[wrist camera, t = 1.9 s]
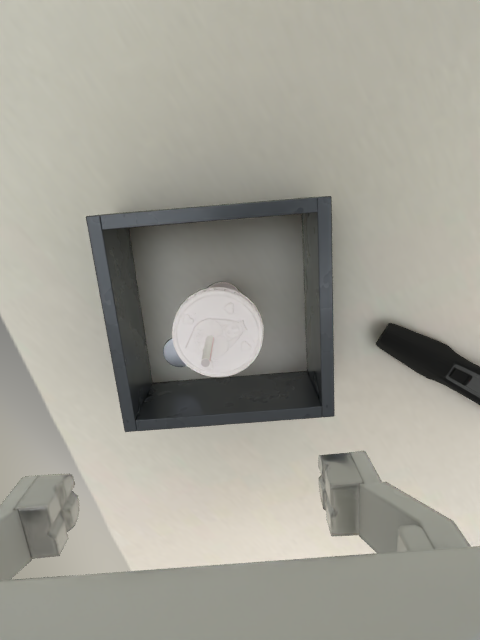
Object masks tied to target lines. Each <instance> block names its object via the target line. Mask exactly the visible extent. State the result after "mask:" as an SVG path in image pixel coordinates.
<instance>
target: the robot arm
mask: <svg viewBox="0 0 480 640" xmlns="http://www.w3.org/2000/svg"><path fill="white" fill-rule="evenodd" d="M318 467H319V470H320V473H321V476H320V477H319V490H320V497H321V502H322V506H323V509H324V510H326V520H327V523H328V527H329V530H330V533H331V536H349V535H359V536H360V537H361V538H362V539H363V540H364V541H365V542H366V543H367V544H368V545H369V546H370V547H371V548H372V549H373V550H374V551H375V552H377V554H363V555H349V556H335V557H321V558H307V559H293V560H279V561H265V562H252V563H238V564H224V565H210V566H196V567H182V568H168V569H154V570H140V571H127V572H113V573H99V574H85V575H72V576H57V577H43V578H30V579H15V580H11V579H12V578H13V577H14V576H15V575H16V574H17V573H18V572H19V571H21V570H22V569H23V568H24V567H25V566H26V565H27V564H28V563H29V562H30V561H31V560H32V559H34V558H44V557H54V556H60V554H61V552H62V550H63V548H64V546H65V544H66V542H67V540H68V535H67V532H68V531H70V530H71V529H72V528H73V527H74V526H75V524H76V522H77V519H78V514H79V499H78V496H77V495H76V494H75V493H74V492H73V491H72V489H73V487H74V485H75V482H74V479H73V476H72V475H71V474H53V475H37V476H36V475H35V476H25V477H23V478H21V480H20V481H19V482H18V483H17V485H16V486H15V487H14V489H13V490H12V491H11V492H10V494H9V495H8V496H7V497H6V499H5V500H4V501H3V503H2V504H1V505H0V640H480V546H475V547H471V546H470V545H469V543H468V542H467V540H466V539H465V537H464V536H463V534H462V533H461V531H460V530H459V529H458V527H457V526H456V524H455V523H454V521H452V520H451V519H449V518H447V517H445V516H444V515H442V514H440V513H439V512H437V511H435V510H434V509H432V508H430V507H428V506H427V505H425V504H423V503H422V502H420V501H418V500H416V499H415V498H413V497H411V496H410V495H408V494H406V493H404V492H403V491H401V490H399V489H398V488H396V487H394V486H392V485H391V484H389V483H387V482H382V481H381V479H380V477H379V476H378V474H377V472H376V470H375V468H374V466H373V464H372V463H371V461H370V459H369V457H368V455H367V453H366V452H365V451H357V452H349V453H340V454H329V455H319V457H318Z"/></svg>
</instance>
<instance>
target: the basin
mask: <svg viewBox="0 0 480 640" xmlns="http://www.w3.org/2000/svg"><path fill="white" fill-rule="evenodd" d="M291 214H302V234H303V264H304V293H305V322H306V352H307V371H304V372H290V373H277V374H264V375H251V376H238V377H225V378H212V379H199V380H186V381H173V382H160V383H152V378H151V372H150V365H149V359H148V352H147V346H146V339H145V333H144V326H143V320H142V313H141V307H140V300H139V294H138V287H137V281H136V274H135V268H134V261H133V255H132V248H131V242H130V235H129V229H128V228H132V227H144V226H156V225H169V224H181V223H193V222H205V221H217V220H230V219H242V218H254V217H266V216H279V215H291ZM86 221H87V226H88V232H89V237H90V243H91V248H92V254H93V259H94V265H95V270H96V275H97V281H98V286H99V292H100V297H101V303H102V308H103V314H104V319H105V325H106V330H107V336H108V341H109V347H110V352H111V358H112V363H113V369H114V374H115V380H116V385H117V391H118V396H119V402H120V407H121V413H122V418H123V424H124V429H125V432H131V431H145V430H159V429H172V428H186V427H199V426H212V425H226V424H239V423H252V422H266V421H279V420H292V419H306V418H319V417H332V416H334V349H333V276H332V204H331V196H325V197H309V198H297V199H285V200H272V201H260V202H248V203H236V204H224V205H212V206H199V207H187V208H175V209H163V210H151V211H139V212H126V213H114V214H104V215H94V216H86ZM163 354H164V357H165V359H166V360H167V362H168V363H170V364H171V365H173V366H176V367H183V366H186V364H185V363H184V362H183V361H182V360H181V359H180V357H179V356H178V354H177V352H176V350H175V348H174V345H173V340H172V338H171V339H170V340H168V341H167V342H166V344H165V346H164V349H163Z"/></svg>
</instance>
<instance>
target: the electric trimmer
mask: <svg viewBox="0 0 480 640" xmlns="http://www.w3.org/2000/svg"><path fill="white" fill-rule="evenodd" d="M376 345H377V346H378V347H379V348H381V349H382V350H384V351H385V352H387V353H388V354H390V355H391V356H393V357H394V358H396V359H397V360H399V361H401V362H402V363H404V364H405V365H407V366H408V367H410V368H411V369H413V370H414V371H416V372H417V373H419V374H421V375H423V376H425V377H426V378H428V379H432V380H435V381H437V382H439V383H441V384H444V385H446V386H448V387H449V388H451V389H453V390H455V391H457V392H458V393H460V394H462V395H464V396H465V397H467V398H469V399H471V400H472V401H474V402H476V403H477V404H479V405H480V367H479V366H477V365H475V364H473V363H471V362H470V361H468V360H466V359H465V358H463V357H461V356H460V355H458V354H457V353H455V352H454V351H453V350H452V349H451V348H450V347H449V346H447V345H446V344H443V343H441V342H439V341H437V340H434V339H432V338H429V337H426V336H424V335H421V334H419V333H416V332H414V331H411V330H409V329H406V328H404V327H401V326H398V325H395V324H392V323H389V324H388V326H387V327H386V329H385V330H384V332H383V333H382V335H381V336H380V338H379V339H378V341H377V342H376Z"/></svg>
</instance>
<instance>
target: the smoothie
mask: <svg viewBox="0 0 480 640" xmlns="http://www.w3.org/2000/svg"><path fill="white" fill-rule="evenodd" d="M263 329H264V326H263V322H262V318H261V315H260V313H259V311H258V309H257V308H256V306H255V304H254V303H253V302H252V301H251V300H250V299H249V298H248V297H246V296H245V295H243V294H241V293H240V291H239V290H238V289H237V288H236V287H235V286H234V285H232V284H230V283H227V282H217V283H214V284H212V285H211V286H209V287H208V288H207V289H203V290H200V291H198V292H196V293H194V294H193V295H191V296H189V297H188V298H187V299H186V300H185V301H184V302H183V303H182V304H181V306H180V308H179V309H178V311H177V313H176V315H175V319H174V322H173V326H172V340H173V345H174V348H175V350H176V352H177V354H178V356H179V357H180V359H181V360H182V361H183V362H184V363H185V364H186V365H187V366H188V367H189V368H191V369H192V370H194V371H195V372H197V373H200V374H202V375H205V376H210V377H227V376H231V375H234V374H237V373H239V372H241V371H243V370H244V369H246V368H247V367H248V366H249V365H250V364H251V363H252V362H253V361H254V360H255V359H256V357H257V356H258V354H259V352H260V349H261V347H262V343H263Z"/></svg>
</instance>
